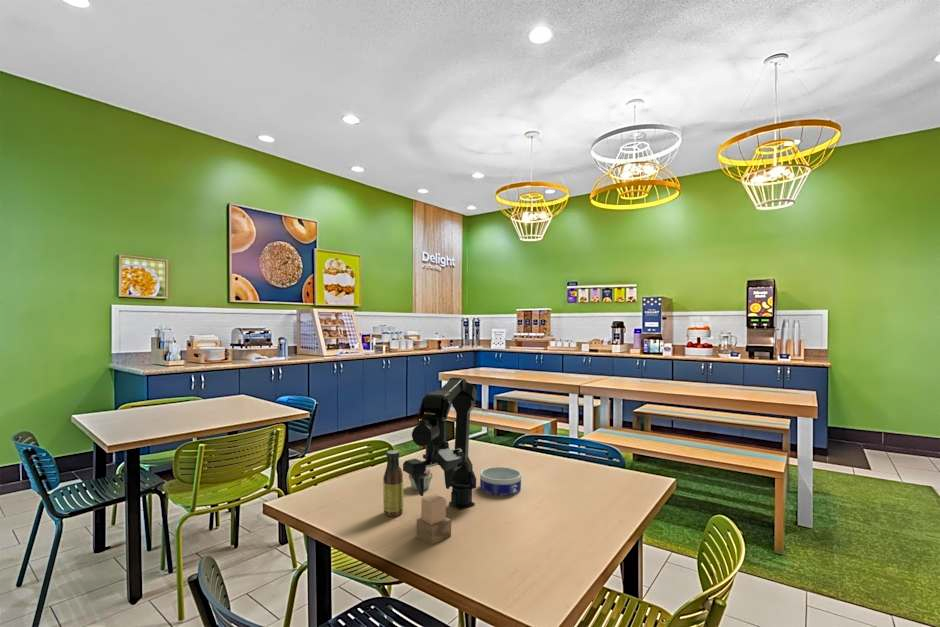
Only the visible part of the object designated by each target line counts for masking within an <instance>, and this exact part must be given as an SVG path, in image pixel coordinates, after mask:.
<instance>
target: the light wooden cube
mask: <svg viewBox="0 0 940 627" xmlns="http://www.w3.org/2000/svg"><path fill="white" fill-rule="evenodd" d="M420 505H421V508H420V509H421V511H420V512H421V513H420V515H421V516H420V518H421V519H422V520H424V521H425V522H427V523H429V524H431V525H433V524H436V523H439V522H442V521H445V520H446V517H447V516H446V515H447V514H446V513H447V498H445V497H442V496H441V495H438V494H437V493H435V494H431V495H428V496H422V497H421V504H420Z"/></svg>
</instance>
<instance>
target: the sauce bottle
mask: <svg viewBox="0 0 940 627" xmlns="http://www.w3.org/2000/svg"><path fill="white" fill-rule="evenodd" d="M399 458H400V451H399V450H396V449H393V450H392V449H391V450H387V451H386V461H387V462H386V468H385V471H384V475H383V477H382V478H383V489H382V490H383V493H382V494H383V513H384V515H385V516H387V517H398V516H401V515H402V513H403V512H404V478H403V469H402V468H401V467H400V459H399Z"/></svg>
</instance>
